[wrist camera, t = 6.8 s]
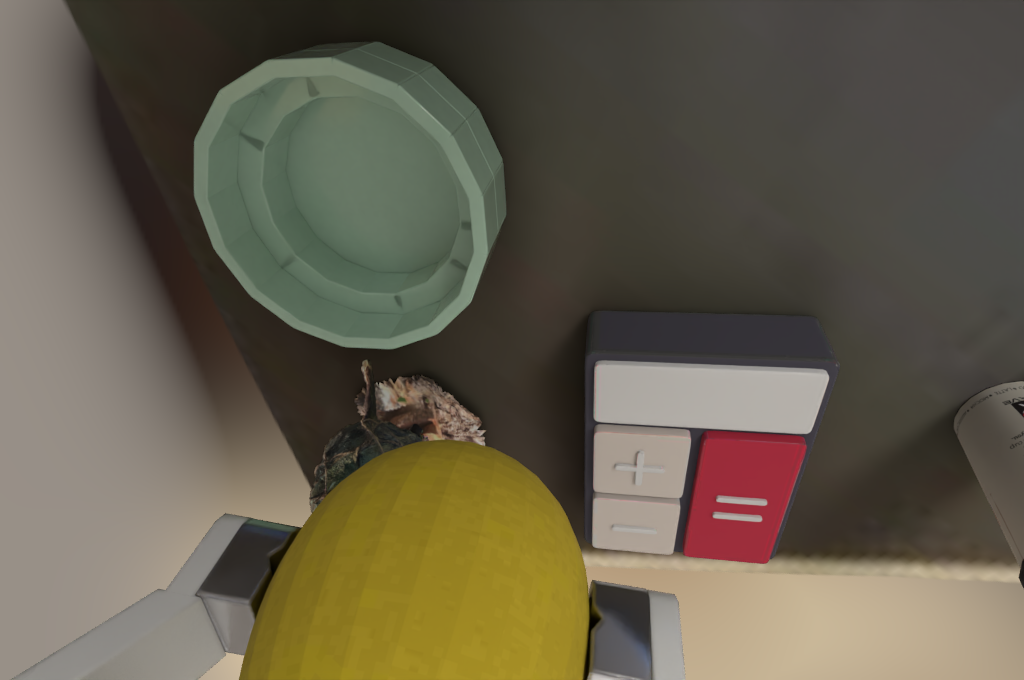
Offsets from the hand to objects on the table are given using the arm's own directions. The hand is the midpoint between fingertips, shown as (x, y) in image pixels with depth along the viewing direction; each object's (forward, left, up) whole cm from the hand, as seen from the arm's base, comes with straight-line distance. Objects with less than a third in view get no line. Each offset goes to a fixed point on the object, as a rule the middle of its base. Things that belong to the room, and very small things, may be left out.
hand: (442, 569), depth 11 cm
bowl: (+7, -4, -19) cm, 21 cm away
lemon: (0, 0, -3) cm, 3 cm away
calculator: (-2, +15, -19) cm, 24 cm away
